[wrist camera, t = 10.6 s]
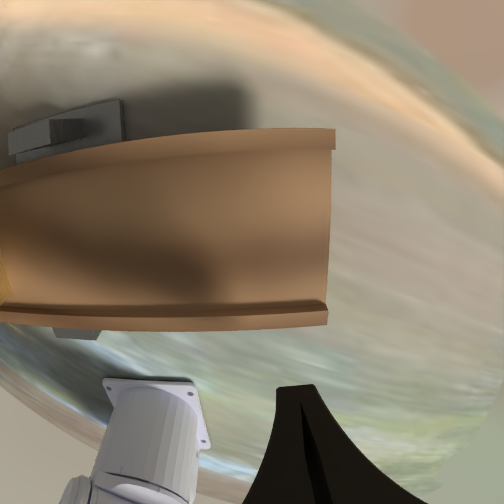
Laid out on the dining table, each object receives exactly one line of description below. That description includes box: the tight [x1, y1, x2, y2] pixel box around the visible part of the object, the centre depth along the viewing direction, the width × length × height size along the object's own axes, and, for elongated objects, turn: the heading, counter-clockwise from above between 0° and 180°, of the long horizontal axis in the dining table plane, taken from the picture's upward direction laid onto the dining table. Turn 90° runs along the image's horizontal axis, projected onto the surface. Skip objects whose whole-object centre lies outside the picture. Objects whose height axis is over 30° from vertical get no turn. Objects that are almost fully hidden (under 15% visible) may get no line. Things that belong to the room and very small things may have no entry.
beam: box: [0, 128, 335, 332], centre depth 14 cm, size 9×28×6 cm, turn 92°
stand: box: [7, 100, 126, 340], centre depth 16 cm, size 13×8×4 cm, turn 2°
